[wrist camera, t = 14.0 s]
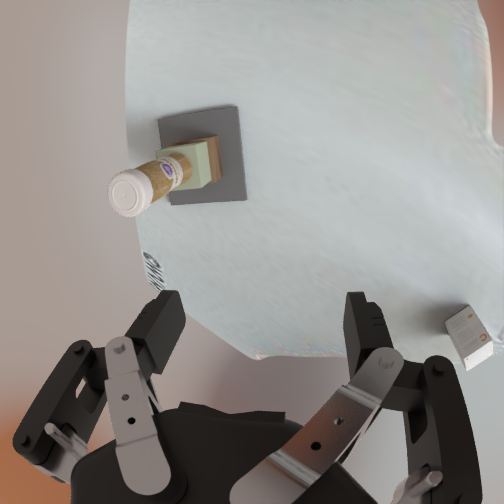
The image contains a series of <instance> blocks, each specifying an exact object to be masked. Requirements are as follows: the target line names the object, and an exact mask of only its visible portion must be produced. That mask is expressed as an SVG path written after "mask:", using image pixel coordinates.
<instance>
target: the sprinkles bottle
mask: <svg viewBox="0 0 504 504" xmlns="http://www.w3.org/2000/svg"><path fill="white" fill-rule="evenodd" d="M191 173H192V166H191V163H190V160H189V159H188V158H187V157H186V156H185V155H183V154H180V153H172V154H170V155H168V156H166V157H162V158H159V159H156V160H153V161H151V162H148V163H146V164H143V165H141V166H139V167H137V168H135V169H128V170H125V171H123V172H120V173H118V174H117V175H115V176H114V177H113V178H112V179H111V181H110V183H109V186H108V199H109V202H110V204H111V206H112V207H113V209H114V210H115V211H116V212H117V213H118V214H120V215H122V216H125V217H133V216H136V215H138V214H140V213H141V212H143V211H144V210H145V209H147V208H148V207H149V205H150V204H151V203H153V202H154V201H157V200H159V199H160V198H162V197H163V196H165V195H166V194H168V193H169V192H171V191H172V190H174V189H175V188H176V187H177V186H179V185H181V184H183V183H185V182H187V181H188V180H189V178H190V176H191Z"/></svg>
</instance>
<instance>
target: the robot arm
mask: <svg viewBox="0 0 504 504" xmlns="http://www.w3.org/2000/svg"><path fill="white" fill-rule="evenodd" d="M185 322H186V318H185V312H184V309H183V305H182V302H181V298H180V295H179V292H178V291H176V290H162V291H161V292H160V294H159V295H158V297H157V298H156V299H153V300H152V301H150V302H149V303H148V304H146V305H145V307H144V308H143V310H142V311H141V313H140V314H139V315H138V317H137V319H136V320H135V321H134V322H133V324H132V325H131V327H130V328H129V330H128V331H127V333H126V334H125V336H122V337H116V338H114V339H112V340H111V341H110V342H109V343H108V344H107V345H106V347H103V348H102V347H101V348H93V347H92V345H91V344H90V342H89V341H87V340H79V341H76V342H74V343H73V344H72V345H71V346H70V347H69V348H68V350H67V351H66V353H65V354H64V355H63V357H62V358H61V360H60V361H59V362H58V364H57V365H56V367H55V368H54V370H53V371H52V373H51V374H50V376H49V377H48V379H47V380H46V382H45V384H44V385H43V387H42V388H41V390H40V391H39V393H38V395H37V396H36V398H35V400H34V401H33V403H32V404H31V406H30V408H29V409H28V411H27V413H26V415H25V416H24V418H23V420H22V422H21V423H20V425H19V427H18V429H17V431H16V432H15V434H14V437H13V447H14V449H15V450H16V452H18V453H19V454H20V455H21V456H23V457H24V458H25V459H27V460H28V461H29V462H30V463H31V464H32V465H33V466H35V467H36V468H38V469H39V470H40V471H42V472H43V473H45V474H46V475H49V476H51V477H52V478H54V479H55V480H57V481H59V482H62V483H65V482H67V483H69V484H70V485H71V504H378V503H377V502H376V501H375V500H374V499H373V498H372V497H371V496H370V495H369V494H368V493H367V492H366V491H365V490H364V489H363V487H362V486H361V485H360V484H359V483H358V482H357V481H356V480H355V479H354V478H353V477H352V476H351V475H350V474H349V473H348V472H347V471H346V470H345V469H344V468H343V467H342V465H343V464H344V462H345V461H346V460H347V458H348V457H349V456H350V455H351V454H352V452H353V451H354V450H355V448H356V447H357V446H358V444H359V442H360V441H361V439H362V438H363V437H364V435H365V434H366V433H367V431H368V430H369V429H370V427H371V426H372V424H373V423H374V421H375V420H376V418H377V417H378V416H379V414H380V412H381V411H382V409H383V408H385V409H390V410H396V411H403V417H404V425H405V434H406V445H407V457H408V474H409V476H408V477H407V478H406V479H404V480H403V481H402V482H401V483H400V484H399V485H398V486H397V487H396V489H395V492H394V496H393V500H392V502H391V504H481V503H482V485H481V478H480V469H479V463H478V456H477V451H476V446H475V441H474V436H473V431H472V427H471V423H470V419H469V415H468V411H467V407H466V404H465V400H464V397H463V394H462V390H461V387H460V384H459V381H458V378H457V374H456V372H455V369H454V366H453V364H452V362H451V361H450V360H449V359H447V358H445V357H443V356H438V355H435V356H431V357H429V358H427V359H426V360H425V362H424V364H423V363H416V362H410V361H407V360H405V359H403V356H402V355H401V354H400V353H399V352H398V351H397V350H395V349H394V347H393V344H392V341H391V338H390V335H389V331H388V328H387V325H386V322H385V319H384V316H383V313H382V310H381V308H380V307H379V306H378V305H377V304H376V303H375V302H367V301H366V298H365V294H364V292H347V296H346V304H345V312H344V321H343V329H344V337H345V343H346V350H347V358H348V364H349V365H348V366H349V373H350V382H349V383H348V384H347V385H346V386H344V385H342V386H341V387H339V388H338V389H337V390H336V392H335V393H334V394H333V395H332V396H331V397H330V399H329V400H328V401H327V402H326V403H325V404H324V405H323V406H322V407H321V409H320V410H319V411H318V412H317V413H316V414H315V415H314V416H313V417H312V418H311V419H310V420H309V421H308V422H307V423H306V424H305V425H304V426H302V425H300V424H298V423H296V422H293V421H291V420H287V419H285V412H271V411H253V412H245V413H237V414H227V413H224V412H221V411H219V410H216V409H213V408H210V407H208V406H205V405H199V404H193V403H187V402H180V405H179V407H178V408H175V409H170V410H165V411H163V410H162V407H161V405H160V402H159V399H158V397H157V394H156V391H155V388H154V386H153V383H152V380H151V378H150V377H151V375H152V373H155V374H162V372H163V370H164V368H165V366H166V364H167V362H168V359H169V357H170V355H171V353H172V351H173V349H174V347H175V345H176V343H177V341H178V339H179V337H180V334H181V333H182V331H183V329H184V326H185ZM82 378H83V379H84V381H85V382H86V384H85V386H84V387H83V389H82V391H81V393H80V394H79V396H78V398H76V394H75V393H76V389H77V387H78V385H79V384H80V382H81V380H82ZM107 400H108V406H109V411H110V416H111V421H112V425H113V430H114V434H115V438H116V439H114V440H112V441H111V442H109V443H107V444H105V445H104V446H102V447H100V448H98V449H96V450H95V451H93V452H91V453H89V454H87V453H88V448H87V443H88V441H89V438H90V436H91V434H92V432H93V430H94V428H95V425H96V423H97V421H98V419H99V417H100V415H101V413H102V410H103V408H104V406H105V404H106V402H107Z"/></svg>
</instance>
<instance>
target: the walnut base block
mask: <svg viewBox="0 0 504 504" xmlns="http://www.w3.org/2000/svg"><path fill="white" fill-rule="evenodd" d="M206 141H207V148H208V156H209V164H210V171H211V179H212V180H211V181H210V182H208V183H216V182H217V181H218V180H219V179H220V178H222V177H223V171H222V163H221V154H220V146H219V137H218V136H211V137H203V138H196V139H189V140H183V141H177V142H173V143H170V144H167V148H168V147H172V146H178V145H185V144H191V143H198V142H206ZM208 183H207V184H208Z"/></svg>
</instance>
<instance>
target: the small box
mask: <svg viewBox="0 0 504 504" xmlns="http://www.w3.org/2000/svg"><path fill="white" fill-rule="evenodd" d="M445 324H446V327H447V330H448V333H449V336H450V338H451V340H452V342H453V344H454V346H455V348H456V350H457V352H458V354H459V357H460V359H461V361H462V363H463V365H464V367H465V369H466V371H468V370H469V369H471V368H473V367H474V366H476V365H477V364H479V363H480V362H481V361H483V360H485V359H486V358H487V357H489V356H490V355H492V354H493V342H492V338H491V337H490V335H489V334H488V332H487V330H486V329H485V327H484V326H483V324H482V322H481V321H480V319H479V318H478V316H477V315H476V313H475V312H474V310H473V309H472V307H471V306H470V305H469V306H467V307H466V308H464V309H463V310H462V311H460V312H459V313H457V314H456V315H454V316H453V317H451V318H450V319H448V320H447V321H445Z"/></svg>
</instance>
